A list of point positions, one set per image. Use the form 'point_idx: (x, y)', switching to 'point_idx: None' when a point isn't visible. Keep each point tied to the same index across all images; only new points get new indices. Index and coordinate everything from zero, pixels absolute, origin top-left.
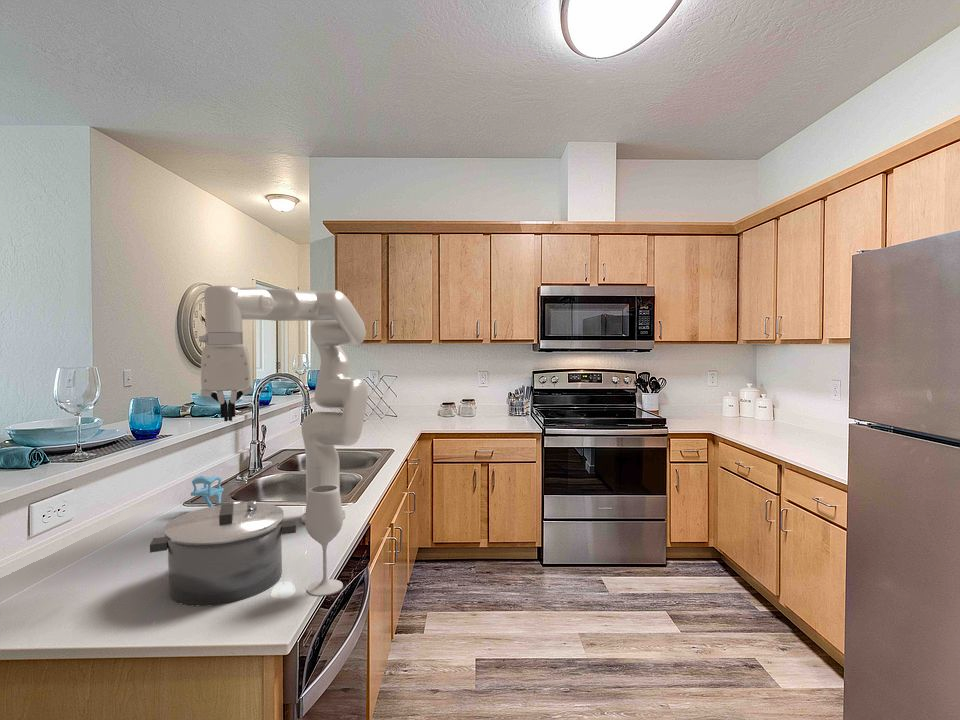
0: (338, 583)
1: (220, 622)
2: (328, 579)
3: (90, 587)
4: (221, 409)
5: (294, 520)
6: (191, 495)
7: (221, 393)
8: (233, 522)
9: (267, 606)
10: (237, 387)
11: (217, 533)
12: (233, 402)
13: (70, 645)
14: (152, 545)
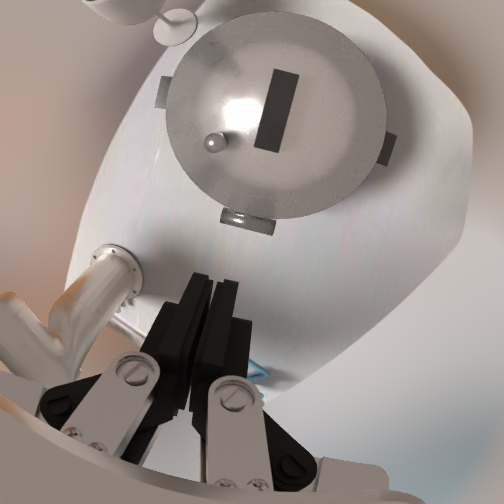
0: (158, 26)
1: (307, 11)
2: (163, 43)
3: (412, 216)
4: (241, 355)
5: (155, 105)
6: (262, 394)
7: (222, 467)
8: (270, 76)
9: None
10: (8, 430)
11: (310, 33)
12: (138, 362)
13: (437, 77)
14: (392, 134)
